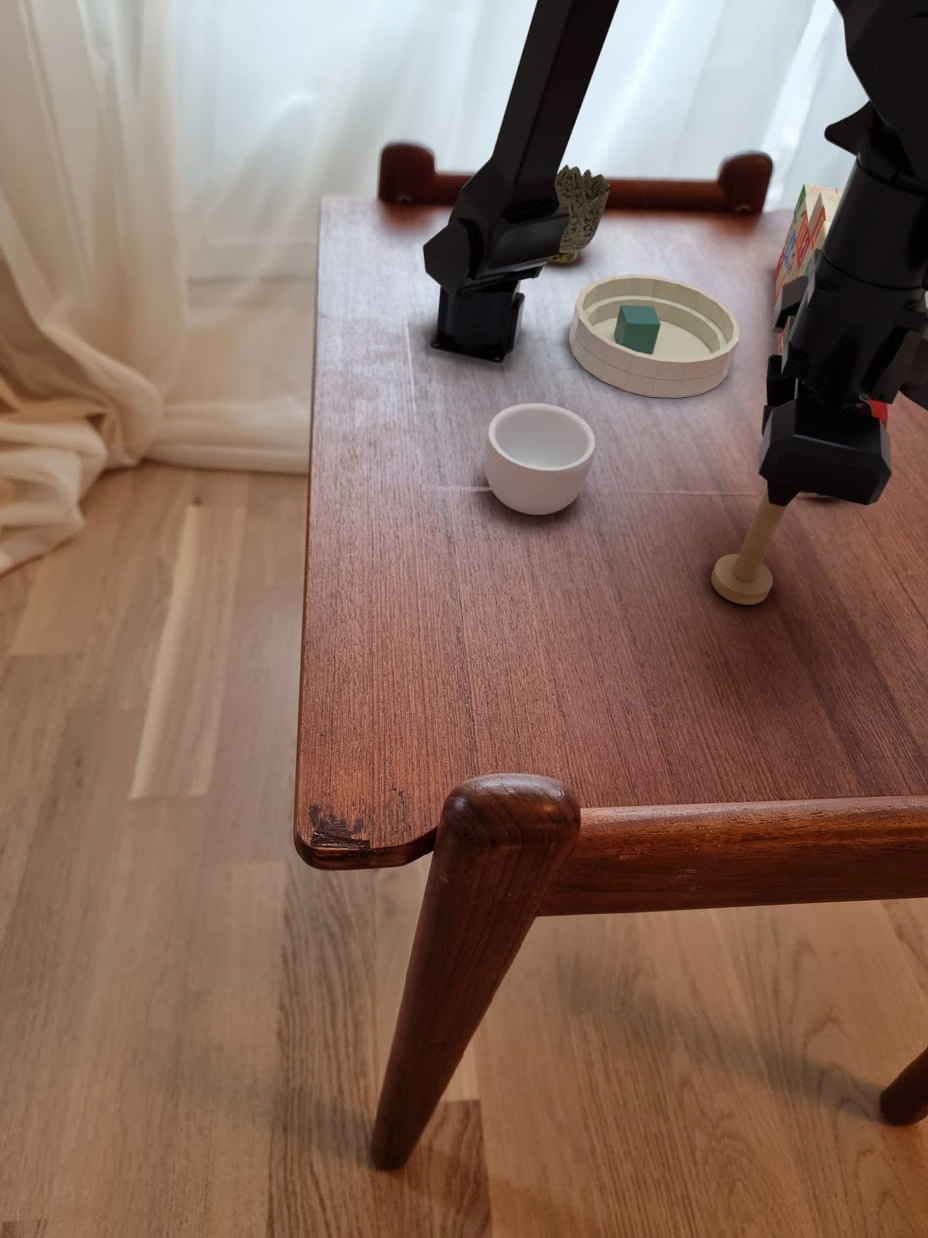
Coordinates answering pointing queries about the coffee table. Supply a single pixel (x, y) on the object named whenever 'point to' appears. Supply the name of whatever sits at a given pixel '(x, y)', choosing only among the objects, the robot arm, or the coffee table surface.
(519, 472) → the teacup
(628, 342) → the block
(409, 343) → the coffee table surface
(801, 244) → the stack of blocks
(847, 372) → the robot arm
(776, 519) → the tan rod with disc
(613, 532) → the coffee table surface
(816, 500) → the coffee table surface
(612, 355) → the bowl
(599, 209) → the cup
